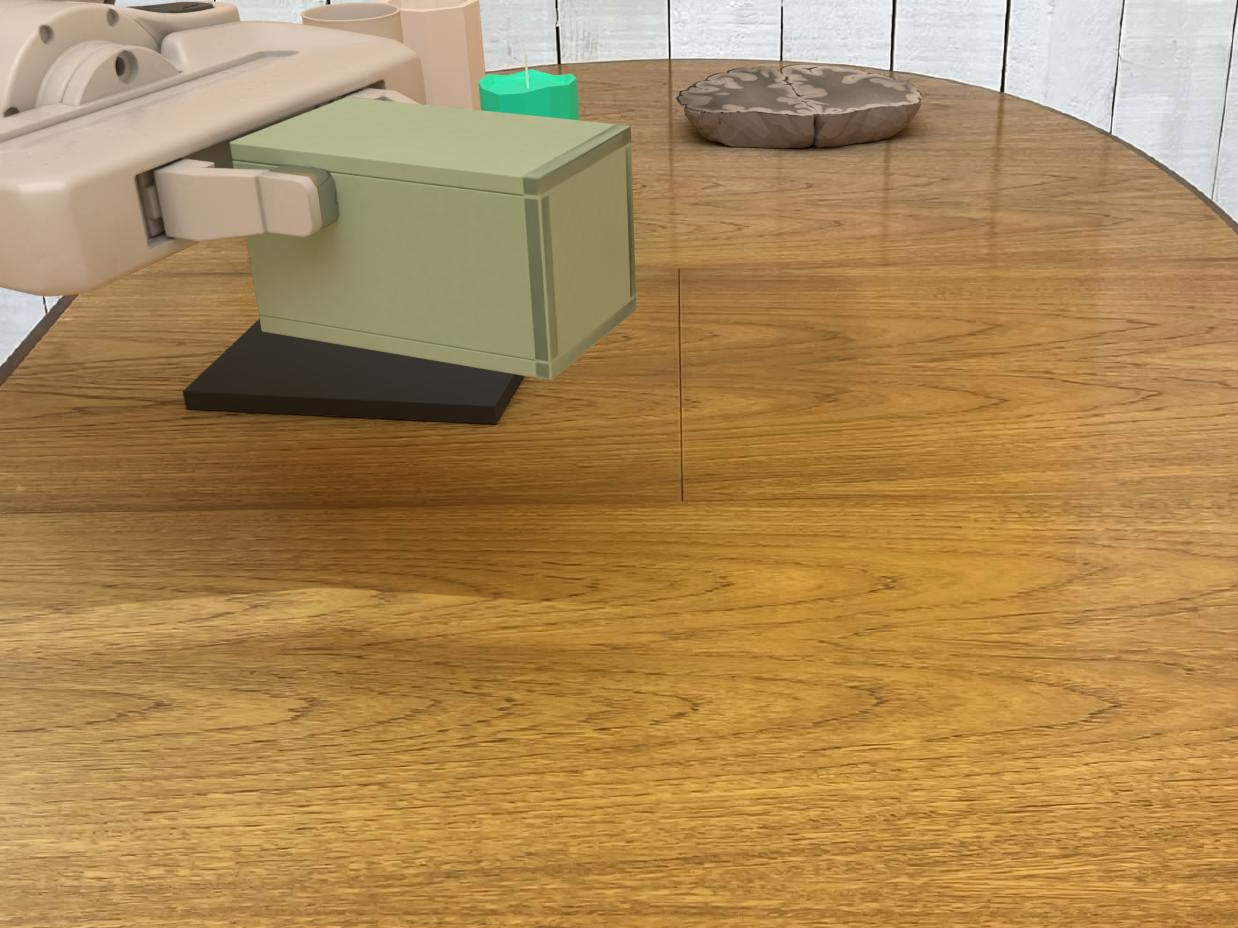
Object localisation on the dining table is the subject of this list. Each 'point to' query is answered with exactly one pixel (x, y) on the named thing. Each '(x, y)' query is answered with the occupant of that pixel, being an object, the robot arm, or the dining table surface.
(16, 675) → the dining table surface
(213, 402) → the mat
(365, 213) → the green box
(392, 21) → the mug
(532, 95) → the candle
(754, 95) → the brain slice
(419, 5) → the mug
